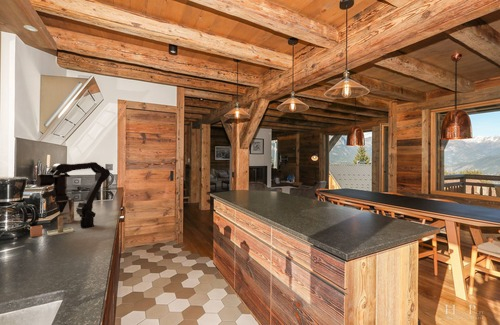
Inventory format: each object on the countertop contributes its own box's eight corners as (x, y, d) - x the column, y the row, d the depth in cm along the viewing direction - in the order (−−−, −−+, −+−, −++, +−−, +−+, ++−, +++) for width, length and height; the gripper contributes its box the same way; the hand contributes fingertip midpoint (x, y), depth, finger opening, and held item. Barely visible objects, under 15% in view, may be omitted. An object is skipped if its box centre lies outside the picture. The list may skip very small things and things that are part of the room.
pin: (62, 231, 142) (62, 216, 142) (63, 232, 140) (63, 216, 140) (57, 232, 140) (57, 216, 140) (58, 232, 138) (57, 217, 138)
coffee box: (71, 223, 160) (70, 199, 160) (59, 224, 158) (58, 200, 157) (74, 220, 169) (74, 197, 168) (63, 221, 166) (63, 198, 166)
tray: (72, 229, 147) (72, 227, 147) (74, 232, 141) (74, 230, 141) (46, 233, 139) (46, 231, 139) (47, 237, 133) (47, 234, 133)
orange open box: (42, 233, 138) (41, 225, 138) (42, 235, 135) (42, 227, 135) (30, 235, 135) (30, 226, 135) (30, 237, 131) (30, 228, 131)
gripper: (40, 184, 141) (40, 211, 141) (42, 187, 127) (43, 216, 127) (64, 183, 148) (64, 208, 149) (68, 185, 135) (68, 213, 135)
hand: (60, 211), depth 140 cm, fingers open, 9 cm apart
